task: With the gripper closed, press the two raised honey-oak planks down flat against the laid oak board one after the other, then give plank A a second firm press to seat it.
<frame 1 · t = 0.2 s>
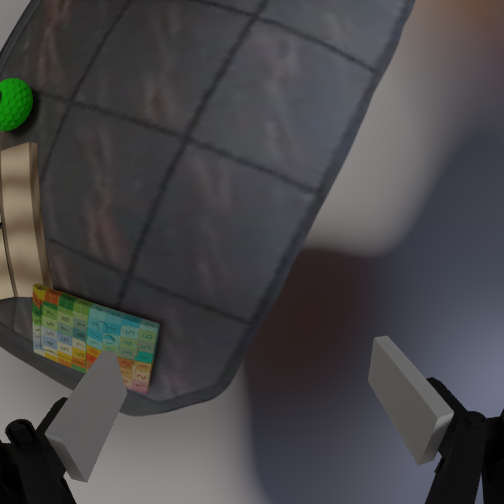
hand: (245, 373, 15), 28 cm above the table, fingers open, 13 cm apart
ornament: (24, 108, 36), on the table
laid board: (26, 220, 40), on the table
puzzle game: (96, 330, 44), on the table, touching laid board
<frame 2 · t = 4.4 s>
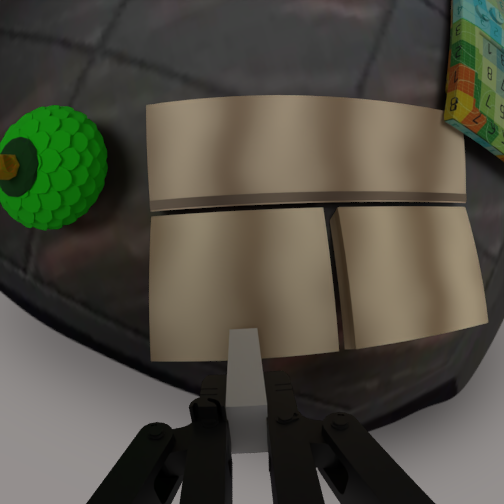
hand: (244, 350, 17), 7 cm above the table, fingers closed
ornament: (79, 168, 21), on the table
laid board: (319, 151, 21), on the table
plank a: (240, 285, 20), point 4 cm above the table, hinge at 28.7°, touching gripper
puzzle game: (482, 66, 20), on the table, touching laid board
plank b: (415, 272, 20), point 4 cm above the table, hinge at 30.0°
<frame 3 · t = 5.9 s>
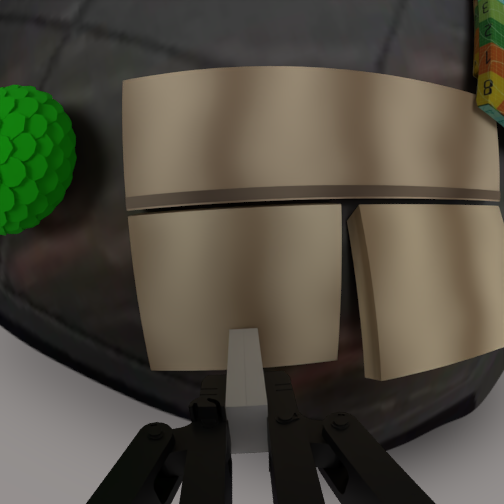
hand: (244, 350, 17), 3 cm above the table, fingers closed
ornament: (49, 160, 17), on the table
laid board: (334, 136, 17), on the table
plank a: (238, 289, 18), point 1 cm above the table, hinge at 2.3°, touching gripper
plank b: (447, 283, 16), point 4 cm above the table, hinge at 30.0°
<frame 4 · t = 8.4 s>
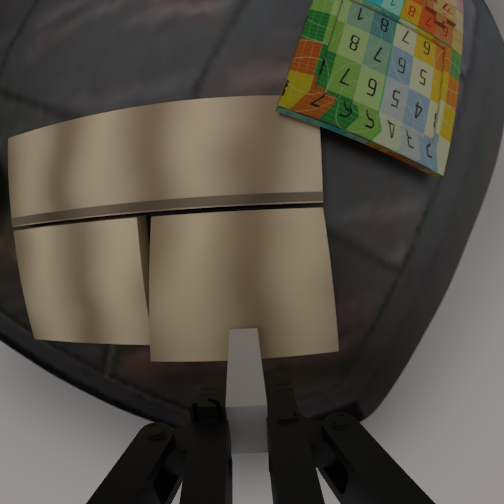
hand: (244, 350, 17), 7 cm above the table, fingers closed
laid board: (149, 160, 21), on the table
plank a: (82, 282, 21), point 1 cm above the table, hinge at 2.1°
puzzle game: (375, 40, 19), on the table, touching laid board
plank b: (240, 285, 20), point 4 cm above the table, hinge at 28.8°, touching gripper
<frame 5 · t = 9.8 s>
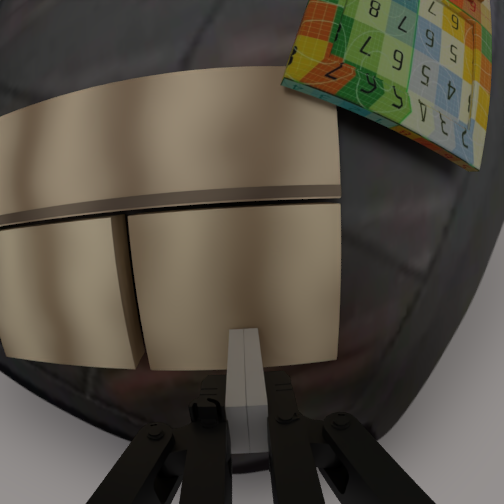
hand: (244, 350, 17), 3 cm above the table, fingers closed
laid board: (128, 148, 17), on the table
plank a: (53, 294, 17), point 1 cm above the table, hinge at 2.1°
puzzle game: (393, 14, 15), on the table, touching laid board
plank b: (238, 288, 18), point 1 cm above the table, hinge at 2.5°, touching gripper
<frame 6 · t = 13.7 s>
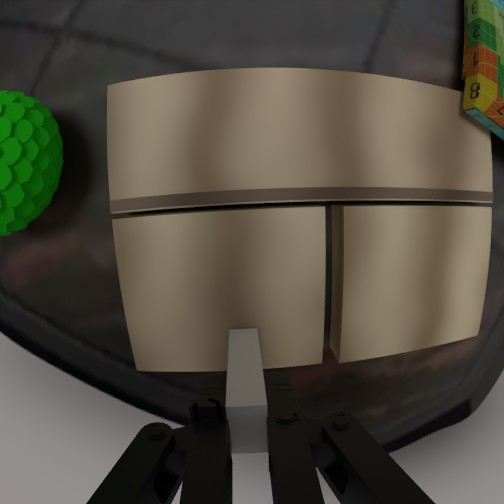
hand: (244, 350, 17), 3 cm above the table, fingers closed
ornament: (39, 164, 17), on the table
laid board: (320, 138, 17), on the table
plank a: (222, 291, 18), point 1 cm above the table, hinge at 1.0°, touching gripper
puzzle game: (500, 53, 16), on the table, touching laid board
plank b: (417, 277, 18), point 1 cm above the table, hinge at 2.3°
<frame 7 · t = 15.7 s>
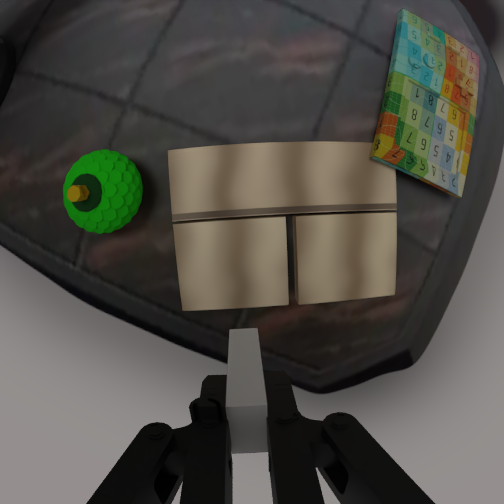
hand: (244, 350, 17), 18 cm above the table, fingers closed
ornament: (118, 190, 32), on the table
laid board: (285, 178, 32), on the table
plank a: (232, 263, 33), point 1 cm above the table, hinge at 0.7°
puzzle game: (420, 103, 31), on the table, touching laid board
plank b: (346, 256, 33), point 1 cm above the table, hinge at 2.3°
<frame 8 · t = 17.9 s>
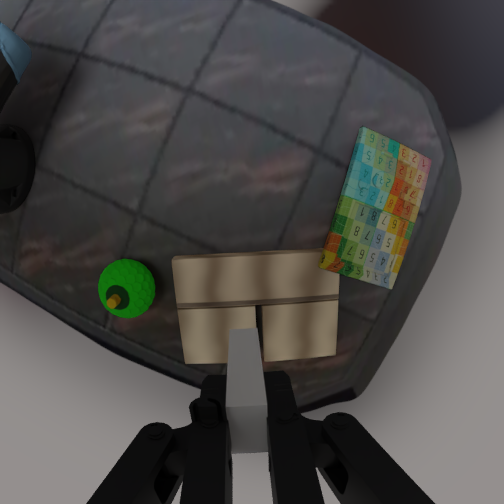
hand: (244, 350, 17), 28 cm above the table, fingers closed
ornament: (135, 279, 45), on the table
laid board: (256, 275, 46), on the table
plank a: (218, 333, 46), point 1 cm above the table, hinge at 0.7°
puzzle game: (369, 208, 44), on the table, touching laid board
plank b: (299, 329, 46), point 1 cm above the table, hinge at 2.3°
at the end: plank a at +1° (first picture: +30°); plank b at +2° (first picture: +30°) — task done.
